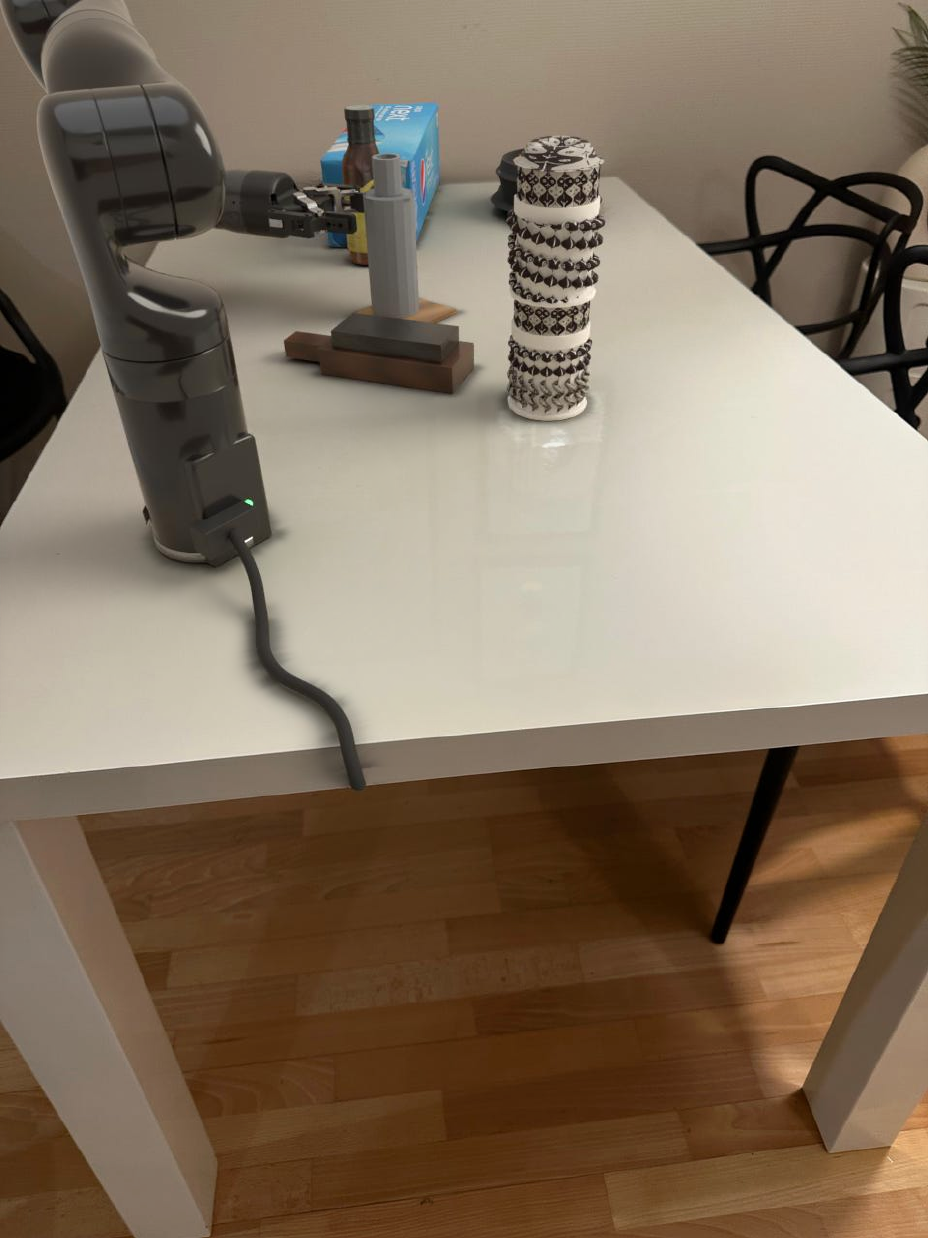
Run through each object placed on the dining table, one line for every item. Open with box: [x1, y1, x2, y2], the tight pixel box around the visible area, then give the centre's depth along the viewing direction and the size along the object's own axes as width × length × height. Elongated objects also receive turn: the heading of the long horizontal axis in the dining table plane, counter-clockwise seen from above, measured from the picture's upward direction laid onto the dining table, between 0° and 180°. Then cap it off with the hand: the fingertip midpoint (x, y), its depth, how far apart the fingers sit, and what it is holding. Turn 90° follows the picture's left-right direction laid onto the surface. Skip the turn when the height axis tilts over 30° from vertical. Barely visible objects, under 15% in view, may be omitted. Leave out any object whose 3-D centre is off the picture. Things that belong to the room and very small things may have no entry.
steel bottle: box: [363, 153, 420, 319], centre depth 109 cm, size 6×6×18 cm
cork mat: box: [355, 297, 457, 323], centre depth 115 cm, size 10×10×1 cm
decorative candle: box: [505, 135, 606, 422], centre depth 87 cm, size 9×9×25 cm
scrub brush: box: [283, 312, 475, 394], centre depth 101 cm, size 22×7×5 cm, turn 70°
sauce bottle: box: [342, 104, 380, 266], centre depth 126 cm, size 6×6×20 cm
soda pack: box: [319, 102, 441, 248], centre depth 147 cm, size 40×14×13 cm, turn 175°
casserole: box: [490, 147, 603, 213], centre depth 148 cm, size 25×19×8 cm
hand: (370, 214), depth 108 cm, fingers open, 8 cm apart
